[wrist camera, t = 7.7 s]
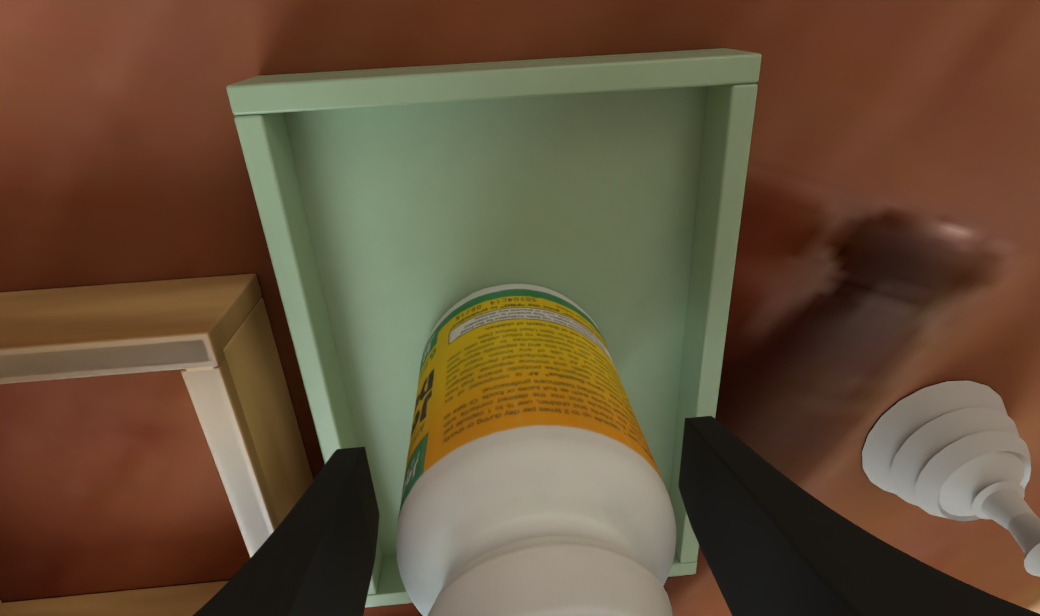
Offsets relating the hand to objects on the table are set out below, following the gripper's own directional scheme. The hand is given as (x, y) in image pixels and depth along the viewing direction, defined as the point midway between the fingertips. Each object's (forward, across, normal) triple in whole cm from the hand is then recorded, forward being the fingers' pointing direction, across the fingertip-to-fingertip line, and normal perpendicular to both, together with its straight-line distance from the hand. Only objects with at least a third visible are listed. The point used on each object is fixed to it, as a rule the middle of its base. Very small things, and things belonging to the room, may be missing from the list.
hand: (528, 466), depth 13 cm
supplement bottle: (+5, 0, 0) cm, 5 cm away
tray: (+5, 0, 0) cm, 5 cm away
